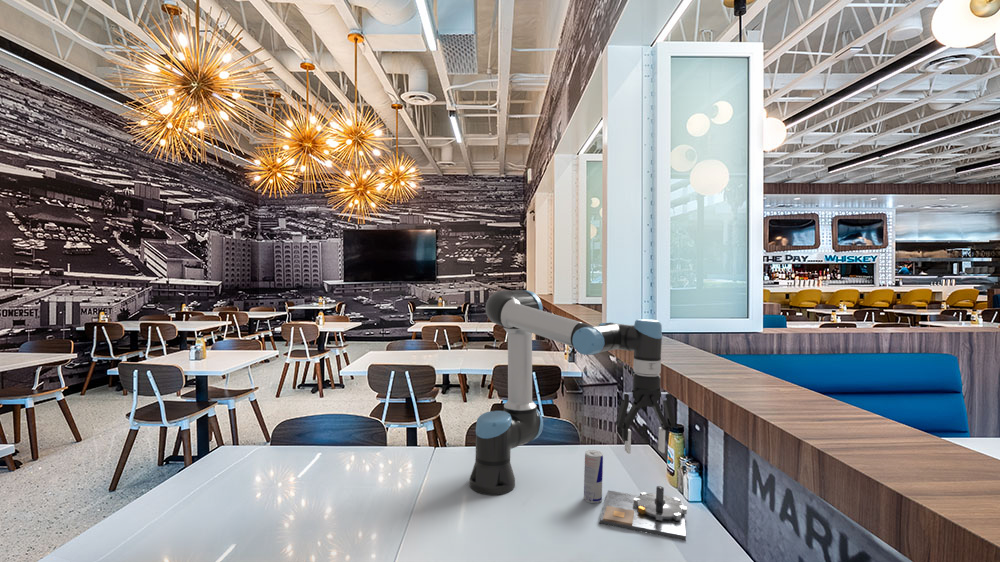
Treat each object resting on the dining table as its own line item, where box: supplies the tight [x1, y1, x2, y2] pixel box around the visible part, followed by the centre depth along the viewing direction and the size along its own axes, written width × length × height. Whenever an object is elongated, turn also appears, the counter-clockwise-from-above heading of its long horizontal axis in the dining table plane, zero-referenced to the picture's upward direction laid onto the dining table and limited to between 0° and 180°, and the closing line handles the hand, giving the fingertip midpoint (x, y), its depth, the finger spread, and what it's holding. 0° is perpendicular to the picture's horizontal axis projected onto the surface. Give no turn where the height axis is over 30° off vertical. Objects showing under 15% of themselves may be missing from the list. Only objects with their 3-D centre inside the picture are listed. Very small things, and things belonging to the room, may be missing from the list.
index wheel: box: [634, 485, 688, 521], centre depth 146 cm, size 15×15×8 cm
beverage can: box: [583, 449, 604, 504], centre depth 153 cm, size 6×6×15 cm
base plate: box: [599, 489, 687, 541], centre depth 144 cm, size 23×20×1 cm
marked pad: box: [603, 506, 634, 526], centre depth 141 cm, size 8×8×1 cm
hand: (644, 451), depth 140 cm, fingers open, 9 cm apart
